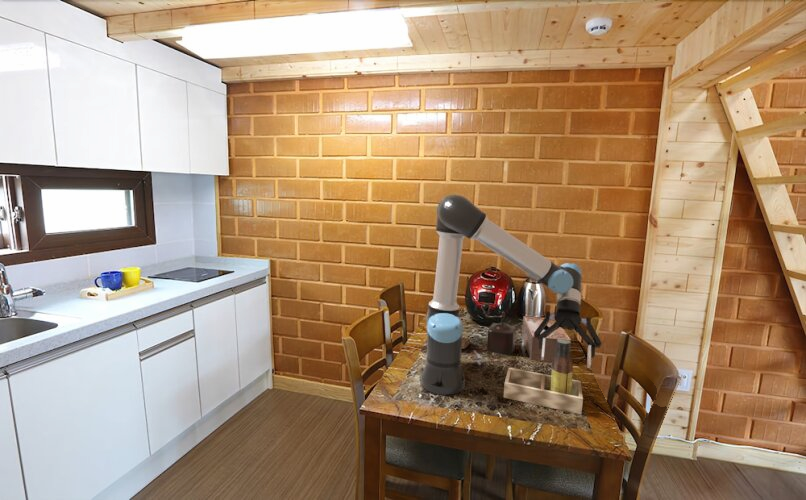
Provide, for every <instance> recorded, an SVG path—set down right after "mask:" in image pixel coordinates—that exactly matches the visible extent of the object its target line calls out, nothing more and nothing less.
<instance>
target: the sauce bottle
mask: <svg viewBox="0 0 806 500" xmlns="http://www.w3.org/2000/svg"><path fill="white" fill-rule="evenodd" d="M570 346H572V341H571V342H570V341H569V340H567V339H558V340H557V353H556V356H555V358H554V360H553V362H551V374H550V375H551V391H553V392H558V393H563V394H568V395H572V379H573V373H574V370H573V366H574V363H573V358H572V356H571V347H570ZM569 352H570V353H569Z"/></svg>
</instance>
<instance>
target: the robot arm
mask: <svg viewBox="0 0 806 500" xmlns="http://www.w3.org/2000/svg"><path fill="white" fill-rule="evenodd" d="M436 215H437V218H436V227H435V232H436V233H437V235H438V236H439V238H438V248H437V250H438V251H437V256H436V257H437V258H436V266H435V267H436V268H435V278H434V288H433V296H432V297H433V298H432V300H430V301H429V302H428V306H427V315H426V318H425V326H426V336H427V337H426V361H425V364H424V367H423V369H422V373H421V374H420V385H421V387H422V388H423V389H425V391H428V392H429V393H432V394H436V395H444V396H449V395H450V396H451V395H454V394H455V395H456V394H458V393H460V392H462V391H463V390H464V389H465V385H466V379H465V375H464V371H463V367H462V364H461V361H462V360H461V359H462V358H461V357H462V349H461V343H462V338H463V336H462V335H463V331H464V329H463V323H462V320H461V318H460V309H461V308H460V307H461V306H460V305H459V303H458V302H457V296H458V289H459V280H460V273H461V272H460V271H461V263H462V262H461V261H462V255H463V254H462V253H463V246H464V245H463V243H464V239H465V237H466V238H467V239H469V240H473V239H474V240H475V241H477V242H479V243H481V244H482V245H484V246H485V247H486V248H488V249H489V250H491V251H493V252H494V253H496V254H497V255H499V256H500V257H502V258H503V259H505V260H506V261H508V262H509V263H511V264H512V265H514V266H515V267H517V268H519V269H520V270H521V271H523V272H524V273H525V274H526V276H527V277H529V278H531V279H533V280H536V281H538V282H540V283H541V284H542V285H544V286H545V287H547V288H548V289H550V290H551V291H552V292H554V293H556V294H557V296H556V297H557V299H556V309H555V310H556V311H555V312H556V313H555V314H553V313H551V312H550V311H547V312H546V314H545V317H544V318H545V319H544V320H543V321H542V323H541V324H540V325H539V327H538V328H537V329H536V331H535V332H534V337H535V338H538V339H539V349H542V356H541V360H544V350H545V339H546V337H547V336H549V335H550V334H551V333H552V332H554V331H555V330H556V329H558V328H559V327H561V328H562V329H564V330H569V331H573V330H574V331H575V332H576V333H577V334H578V335H579V336H580V337H581V338H582V339H583V341H584V342H585V343H586V345H587V361H586V368H587V369H590V368H591V365H592V358H595V356H596V349H597V348H598V349H600V348H601V345H602V341H601V340H600V337H599V336H598V334H597V332H596V330H595V329H594V327H593V325H592V321H591V317H586V318H582V317H581V300H582V298H581V296H582V294H581V292H582V279H583V277H582V268H581V267H580V266H579V265H578V264H576V263H570V262H566V263H563V264H561V265H558V264H556V263H554V262H553V261H551V260H549V259H548V258H547V257H545V256H544V255H543V254H541V253H539V252H538V251H536V250H535V249H533V248H531V247H530V245H529V246H528V245H527V244H526V243H524V242H523V241H522V240H519V239H518V238H517V237H515V236H514V235H512V234H511V233H509V232H508V231H506V230H504V228H501V226H499V225H497V223H494V222H493V221H491V220H490V219H489V218H488V214H486V213H485V212H483V211H482V210H481V209H480V208H478V207H477V206H476V205H475V204H473V203H472V201H471V200H469V199H468V198H467V197H465V196H463V195H460V194H459V195H458V194H450V195H449V194H448V195H446V196H445V197H443V198H442V199H441V200H440V201H439V203H438V205H437V207H436ZM459 318H460V319H459ZM553 318H554V319H555V321H556V322H555V323H554V324H553V325H552V326H550V327H549V328H548V329H547V330H545V331H544V332H543V333H542V334H540V333H541V332H542V330H543V329H544V328H545V326H546V325H547V324H548V322H549V320H552V319H553ZM581 324H583V326H585V328H586V330H587V331H588V333H589V335H588V334H587V332H586V331H585V330H584V329H583V328H582V326H581Z"/></svg>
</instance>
